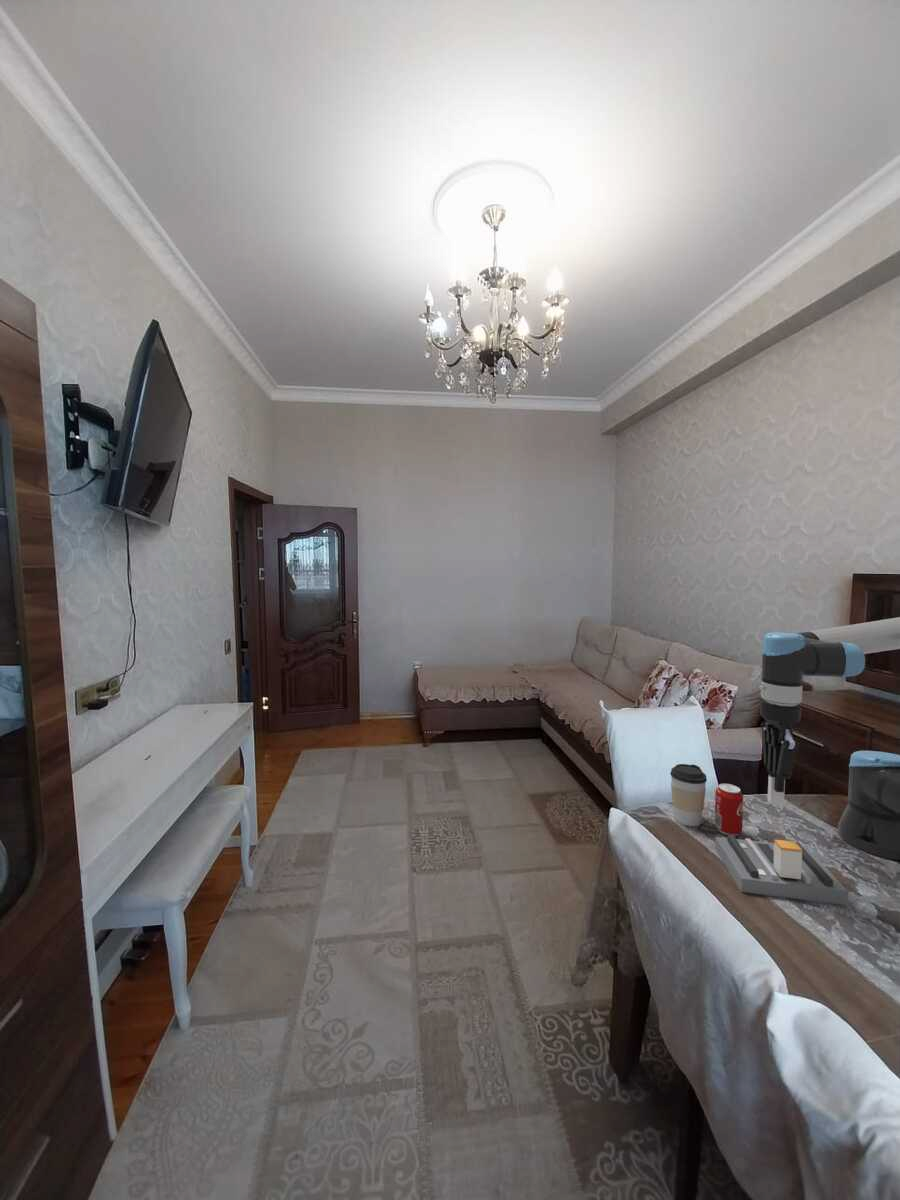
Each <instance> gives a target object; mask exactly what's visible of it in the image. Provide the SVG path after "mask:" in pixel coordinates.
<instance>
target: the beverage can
mask: <svg viewBox="0 0 900 1200" xmlns="http://www.w3.org/2000/svg"><path fill="white" fill-rule="evenodd" d="M714 795H715V796H714V797H715V799H714V800H715V802H714V803H715V806H714V827H715V828H716V829H717V830H718V832H719V833H721V834H723V835H725V836H727V835H734V837H737V836H739V835H740V834H742V832H743V814H744V813H743V812H744V794H743V793H742V792H741V788H740V787H738V786H736V785H734V784H731V783H720V784H718V787H717V788H716V789H715V794H714Z"/></svg>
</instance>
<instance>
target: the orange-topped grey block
mask: <svg viewBox="0 0 900 1200" xmlns="http://www.w3.org/2000/svg"><path fill="white" fill-rule="evenodd" d="M773 841H774V842H773V843H774V863H773V868H774V870H775V871H776V872H777V874H778V875H779V876H780V877H785V878H793V879H801V867H802V849H801V848H800V847H799V846H798V844H797V843H796V842H797V841H793V840H792V841H791V840H783V839H782V840H781V839H774V840H773Z"/></svg>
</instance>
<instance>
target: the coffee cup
mask: <svg viewBox="0 0 900 1200" xmlns="http://www.w3.org/2000/svg"><path fill="white" fill-rule="evenodd" d="M669 773H670V776H671V782H670V786H671V802H672V808H673V810H672V812H673V819H674V821H676V822H677V821H678V822H677V823H679V824H680V823H682V824H681V825H683V824H684V825H683V826H686V825H689V826H688V827H691V826H696V827H699V826H701V825H702V818H703V810H704V808H705V807H704V806H705V799H706V790H707V789H706V785H707V781H708V779H707V775H706V774H705V773H704V772H703V769H701V767H700V766H699V765H697V764H687V763H681V764H678V763H677V764H676V765H675V766H674V767H672V768H671V769H670V772H669ZM700 824H701V825H700Z"/></svg>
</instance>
